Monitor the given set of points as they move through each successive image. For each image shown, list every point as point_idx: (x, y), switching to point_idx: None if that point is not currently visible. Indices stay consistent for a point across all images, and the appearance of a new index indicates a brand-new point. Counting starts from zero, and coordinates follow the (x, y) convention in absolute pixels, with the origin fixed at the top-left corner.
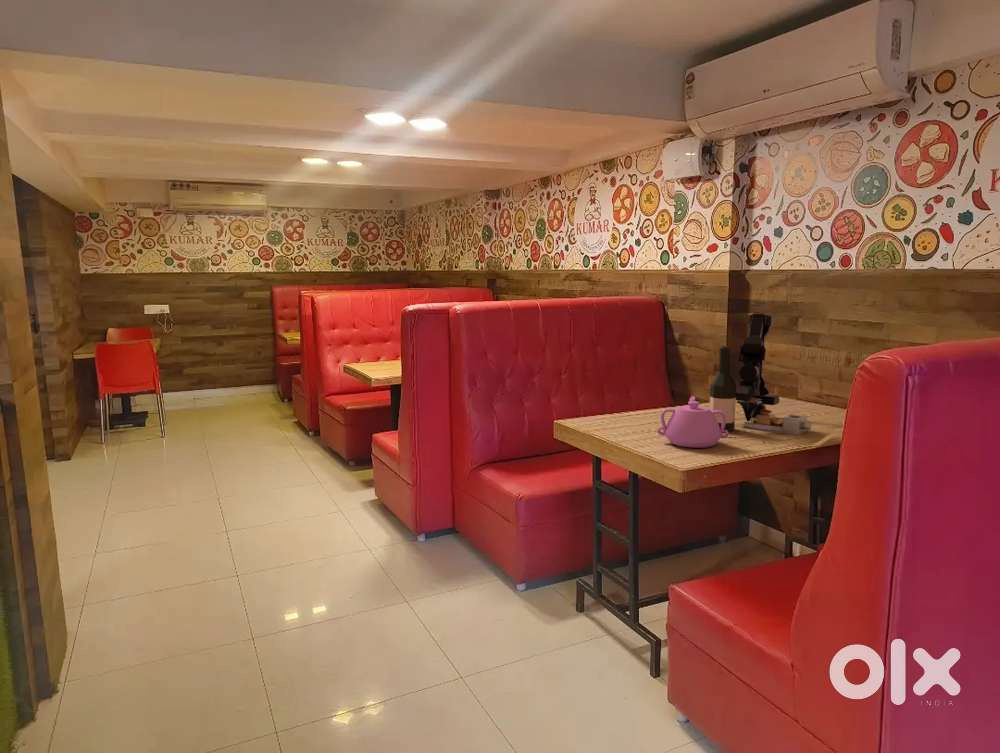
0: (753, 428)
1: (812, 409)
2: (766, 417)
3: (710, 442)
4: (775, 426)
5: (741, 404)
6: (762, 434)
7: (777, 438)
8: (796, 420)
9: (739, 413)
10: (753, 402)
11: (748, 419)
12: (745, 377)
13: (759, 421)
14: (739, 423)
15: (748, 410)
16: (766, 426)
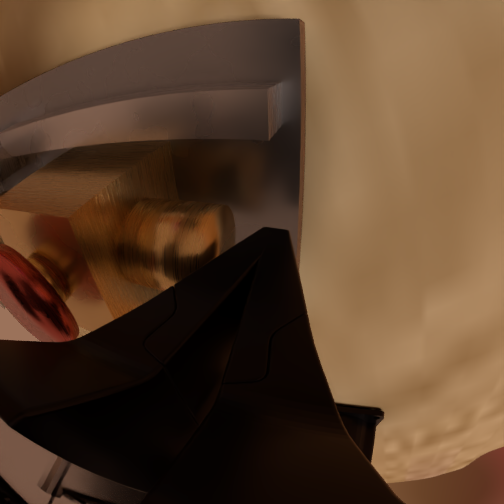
0: (170, 84)
1: None
2: (16, 199)
3: None
4: (13, 140)
5: (328, 476)
6: (90, 35)
7: (13, 28)
8: None
9: (399, 443)
10: (17, 434)
11: (259, 235)
12: None
13: (99, 169)
14: (397, 321)
15: (198, 324)
16: (51, 116)
